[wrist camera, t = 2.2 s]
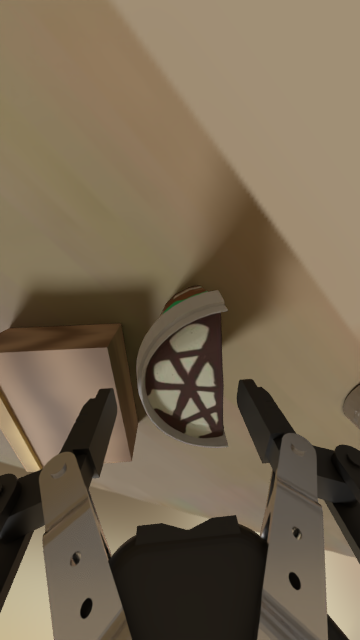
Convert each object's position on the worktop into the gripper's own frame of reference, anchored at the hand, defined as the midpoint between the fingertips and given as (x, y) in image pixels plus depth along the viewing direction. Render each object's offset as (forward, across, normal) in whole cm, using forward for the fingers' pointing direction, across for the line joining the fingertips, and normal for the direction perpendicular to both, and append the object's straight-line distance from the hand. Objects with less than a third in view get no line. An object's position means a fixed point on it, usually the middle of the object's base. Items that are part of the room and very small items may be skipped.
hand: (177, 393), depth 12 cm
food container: (+10, 0, 0) cm, 10 cm away
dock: (+10, +12, +7) cm, 17 cm away
